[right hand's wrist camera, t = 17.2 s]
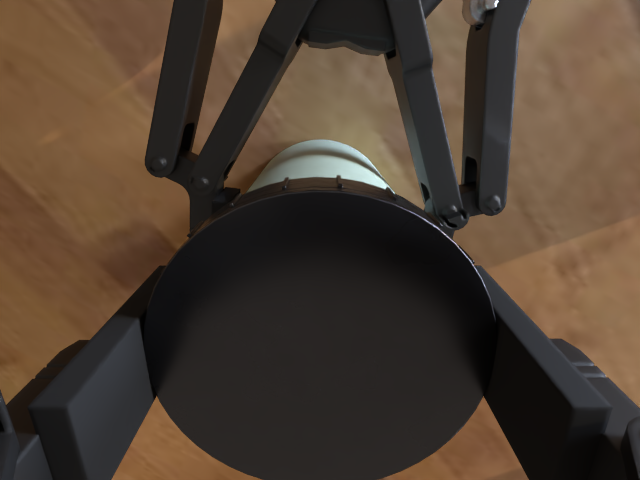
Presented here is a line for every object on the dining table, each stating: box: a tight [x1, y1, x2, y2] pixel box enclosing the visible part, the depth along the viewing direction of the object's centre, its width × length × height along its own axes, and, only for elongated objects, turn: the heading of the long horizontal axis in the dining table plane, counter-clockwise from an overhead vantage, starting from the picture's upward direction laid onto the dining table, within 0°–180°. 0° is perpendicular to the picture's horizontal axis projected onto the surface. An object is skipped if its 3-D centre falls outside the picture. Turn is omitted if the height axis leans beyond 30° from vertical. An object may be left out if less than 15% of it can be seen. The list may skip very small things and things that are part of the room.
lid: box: [144, 175, 497, 480], centre depth 11 cm, size 10×10×2 cm
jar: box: [245, 140, 395, 194], centre depth 18 cm, size 9×9×15 cm
